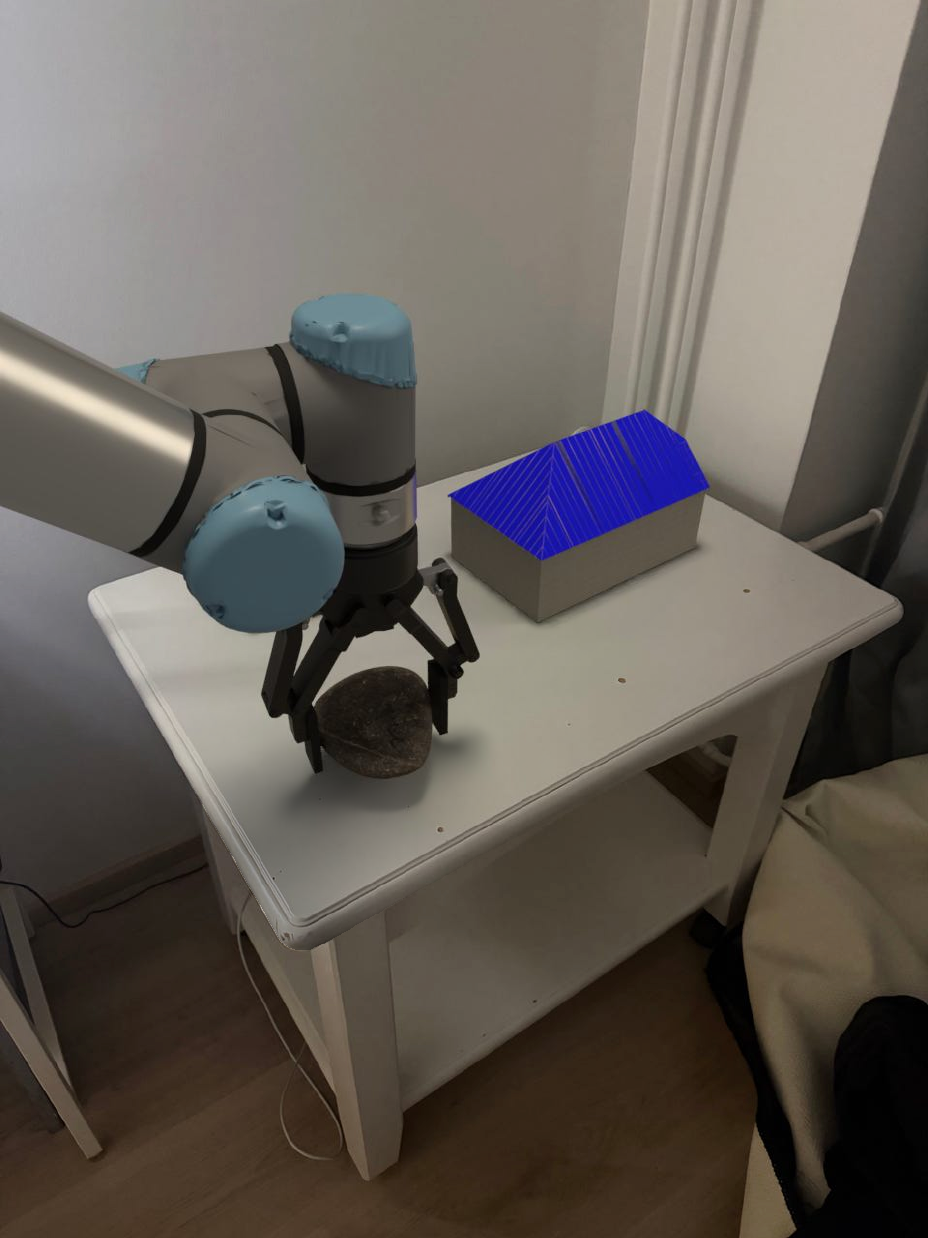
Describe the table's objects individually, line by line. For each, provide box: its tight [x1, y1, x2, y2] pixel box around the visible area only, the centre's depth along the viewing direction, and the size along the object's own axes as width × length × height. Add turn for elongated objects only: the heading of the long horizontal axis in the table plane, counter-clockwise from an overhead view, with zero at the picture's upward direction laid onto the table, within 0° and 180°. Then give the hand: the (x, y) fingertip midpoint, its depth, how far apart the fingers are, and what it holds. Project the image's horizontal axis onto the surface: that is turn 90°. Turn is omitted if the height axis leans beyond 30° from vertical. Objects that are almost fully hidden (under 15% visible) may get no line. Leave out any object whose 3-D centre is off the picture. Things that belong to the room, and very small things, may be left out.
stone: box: [313, 665, 434, 780], centre depth 76 cm, size 11×11×5 cm
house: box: [447, 408, 711, 623], centre depth 100 cm, size 25×16×16 cm, turn 126°
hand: (377, 742), depth 77 cm, fingers closed on stone, 11 cm apart
